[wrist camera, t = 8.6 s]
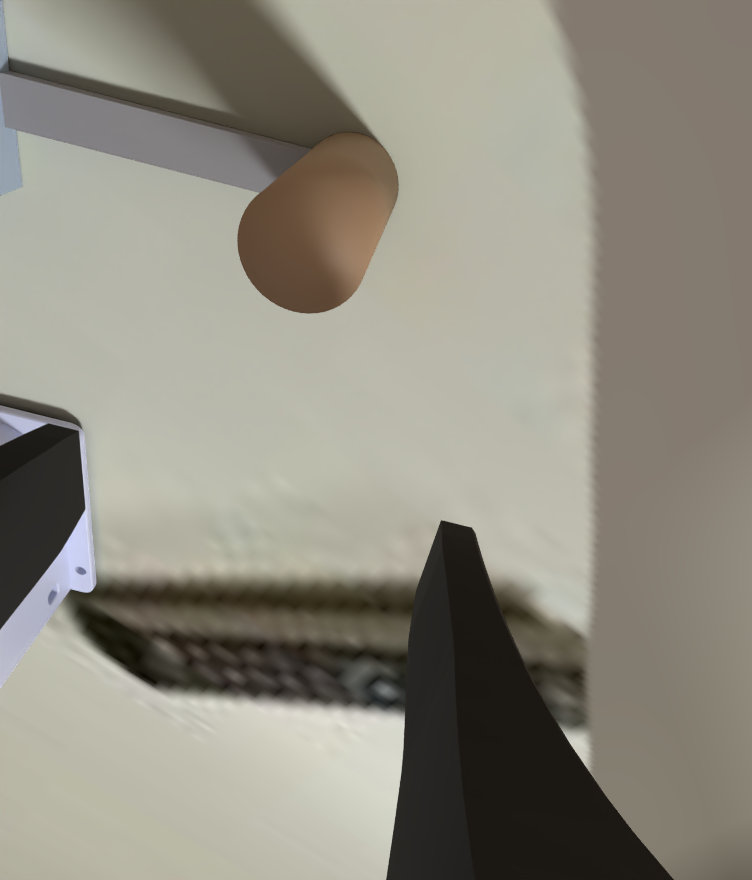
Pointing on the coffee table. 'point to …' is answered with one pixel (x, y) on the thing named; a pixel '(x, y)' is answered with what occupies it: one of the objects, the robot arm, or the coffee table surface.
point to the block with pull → (230, 181)
